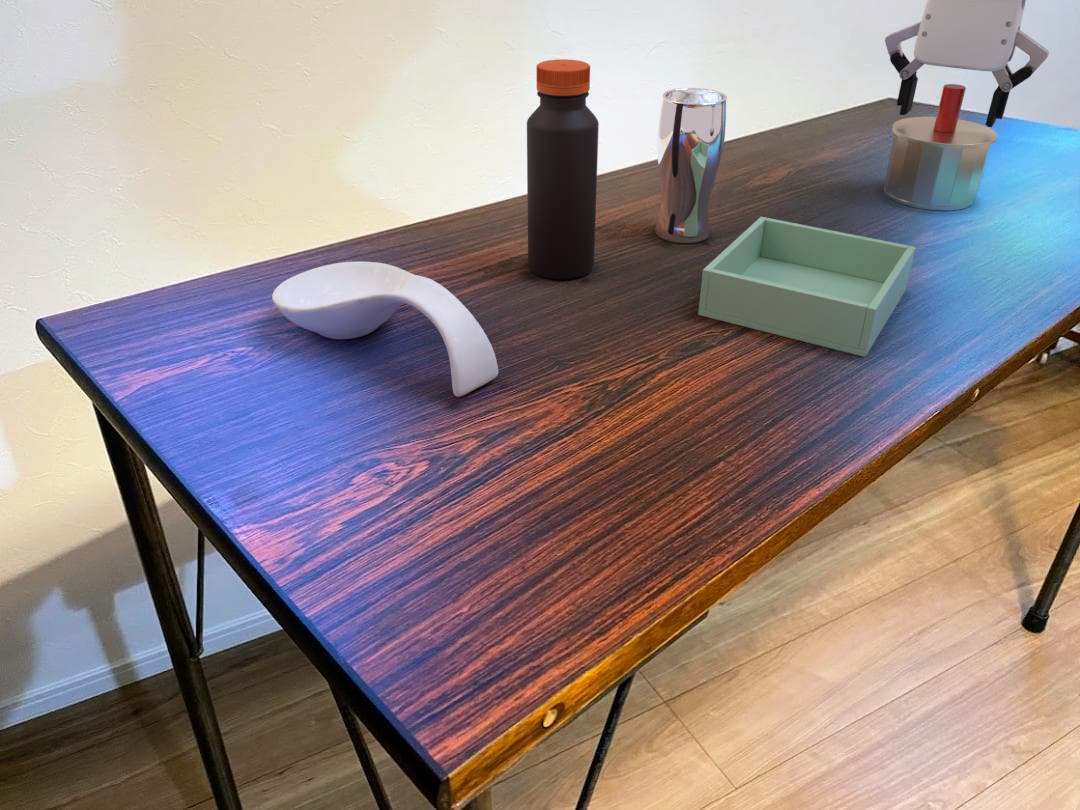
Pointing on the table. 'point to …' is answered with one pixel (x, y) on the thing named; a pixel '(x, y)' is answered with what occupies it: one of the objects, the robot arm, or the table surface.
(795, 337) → the tray
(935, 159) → the pot
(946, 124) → the lid
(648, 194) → the table surface
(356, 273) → the spoon rest
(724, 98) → the silver metal tumbler
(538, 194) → the bottle
